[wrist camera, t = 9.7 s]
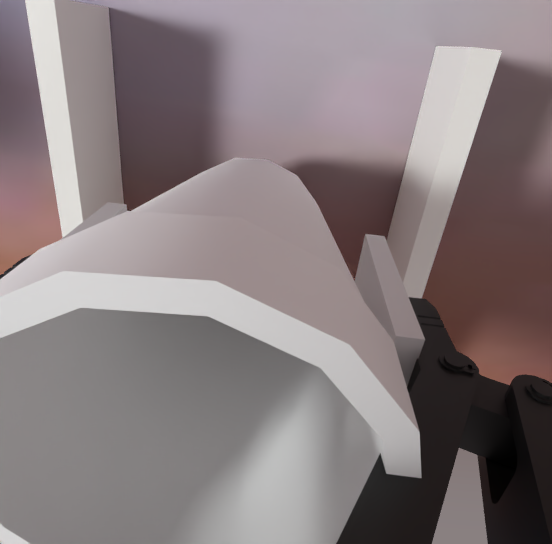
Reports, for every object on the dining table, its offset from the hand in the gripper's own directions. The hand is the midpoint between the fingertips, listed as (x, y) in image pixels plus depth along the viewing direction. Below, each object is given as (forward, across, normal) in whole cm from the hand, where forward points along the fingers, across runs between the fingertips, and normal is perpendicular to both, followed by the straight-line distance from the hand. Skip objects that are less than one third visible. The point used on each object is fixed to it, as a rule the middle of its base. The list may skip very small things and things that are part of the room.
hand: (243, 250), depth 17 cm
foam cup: (+3, 0, 0) cm, 3 cm away
